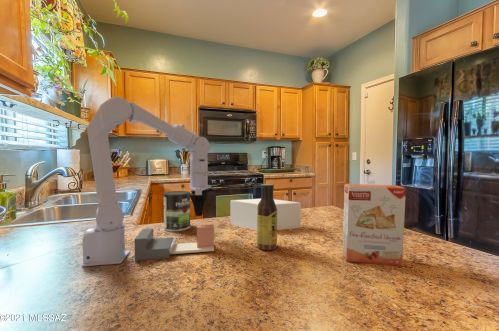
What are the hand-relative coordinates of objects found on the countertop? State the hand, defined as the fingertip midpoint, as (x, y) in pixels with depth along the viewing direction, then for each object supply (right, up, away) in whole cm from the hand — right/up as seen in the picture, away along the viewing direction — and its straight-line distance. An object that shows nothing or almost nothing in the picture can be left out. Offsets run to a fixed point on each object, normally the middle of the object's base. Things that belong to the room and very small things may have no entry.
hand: (199, 212), depth 79 cm
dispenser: (-11, -10, -10) cm, 18 cm away
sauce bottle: (+23, -10, -5) cm, 25 cm away
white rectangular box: (+23, -9, +17) cm, 30 cm away
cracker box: (+51, -10, -14) cm, 54 cm away
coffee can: (-12, -9, +14) cm, 21 cm away
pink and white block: (-2, -9, -8) cm, 12 cm away
